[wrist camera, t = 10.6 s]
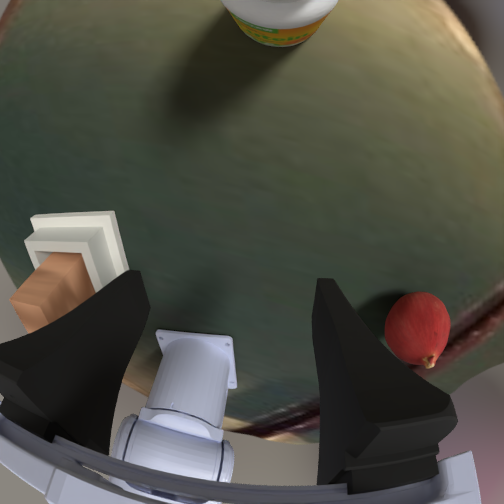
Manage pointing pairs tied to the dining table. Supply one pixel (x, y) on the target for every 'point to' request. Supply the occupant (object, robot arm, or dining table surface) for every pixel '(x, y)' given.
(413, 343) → the onion
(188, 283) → the dining table surface
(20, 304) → the peg
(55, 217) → the socket
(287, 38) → the supplement bottle
